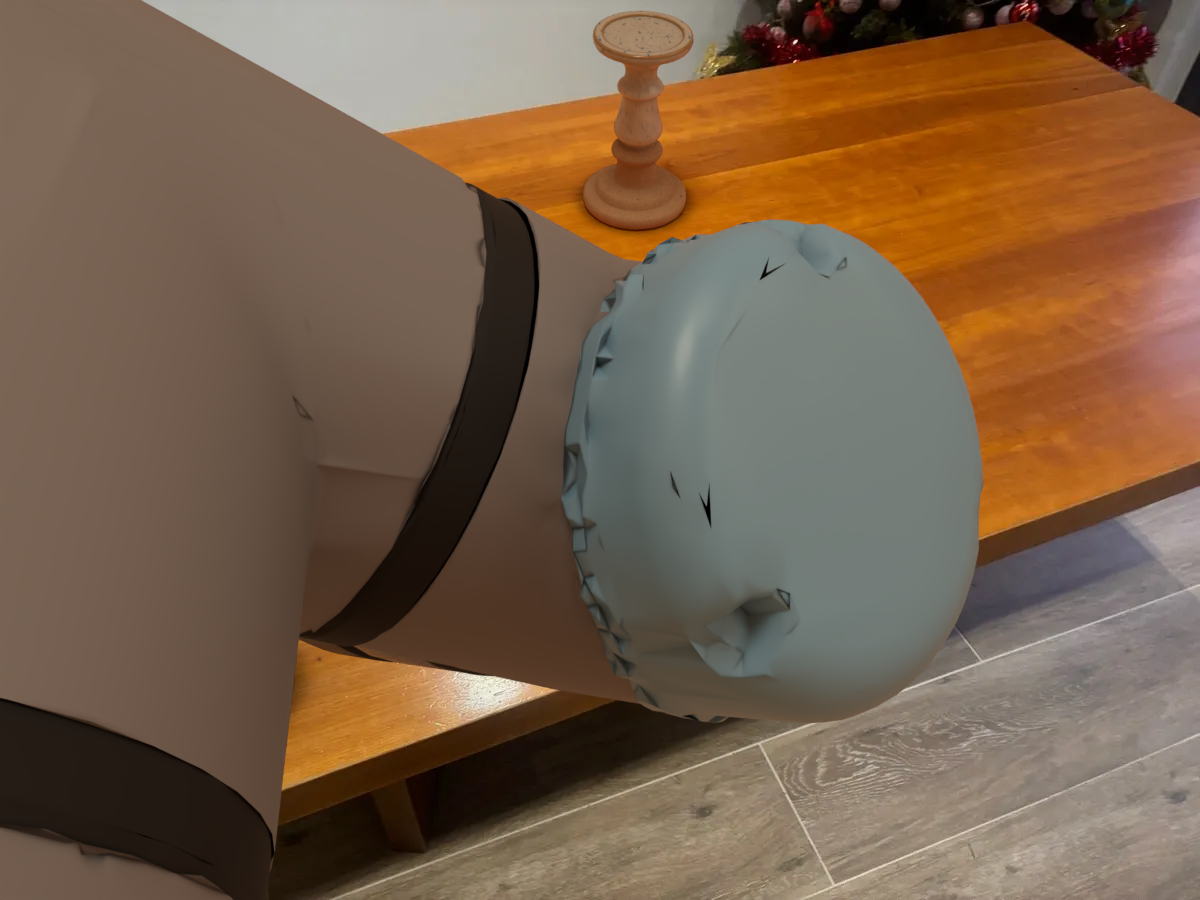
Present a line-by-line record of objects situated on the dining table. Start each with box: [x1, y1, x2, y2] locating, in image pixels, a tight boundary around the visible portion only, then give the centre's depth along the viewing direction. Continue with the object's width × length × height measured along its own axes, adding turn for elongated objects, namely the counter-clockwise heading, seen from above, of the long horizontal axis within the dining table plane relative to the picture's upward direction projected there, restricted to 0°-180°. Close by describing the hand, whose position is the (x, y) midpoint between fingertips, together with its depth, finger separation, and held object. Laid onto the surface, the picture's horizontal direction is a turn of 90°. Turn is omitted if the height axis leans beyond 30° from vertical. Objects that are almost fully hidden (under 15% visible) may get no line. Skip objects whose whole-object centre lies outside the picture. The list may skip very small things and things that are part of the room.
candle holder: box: [582, 10, 694, 231], centre depth 100 cm, size 12×12×20 cm
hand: (228, 551), depth 42 cm, fingers open, 13 cm apart
